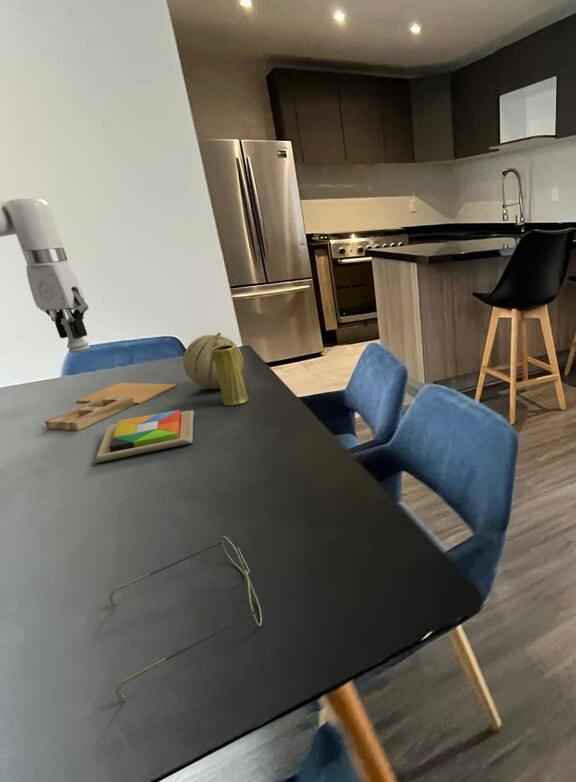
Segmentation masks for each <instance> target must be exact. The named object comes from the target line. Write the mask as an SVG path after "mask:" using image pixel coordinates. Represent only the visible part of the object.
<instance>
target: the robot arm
mask: <svg viewBox="0 0 576 782" xmlns="http://www.w3.org/2000/svg"><path fill="white" fill-rule="evenodd" d="M12 235H15V236H16V238H17V241H18V243H19V246H20V250H21V252H22V254H23V257H24V260H25V263H26V265H25V266H26V267H25V269H26V270H25V271H26V277H27V281H28V285H29V289H30V292H31V295H32V298H33V301H34V303H35V306H36V307H37V308H38V309H39V310H40V311H42V312H44V313H46V314H47V316H48V317H49V318H50V320H51V322H53V323H54V324H55V328H56V330H57V333H58V335H59V338H60V339H66V338H68V336H67V332H66V330H64V329H65V327H64V326H63V325H62V324H61V322H62V321H61V319H64V318H67V319H68V318H69V320H70V322H68V323H69V326H70V329H71V332H72V335H73V337H74V338H80V337H83V338H84V337H87V335H88V332H87V329H86V326H85V323H84V321H83V320H84V319H85V316H84V315H85V312H87V311H88V310H89V305H88V304H87V303H86V300H85V295H84V291H83V290H82V287H81V284H80V282H79V280H78V277H77V275H76V273H75V271H74V268H73V267H72V265H71V264H70V262H69V259H68V256H67V254H66V251H65V248H64V245H63V242H62V239H61V236H60V233H59V230H58V226H57V224H56V221H55V218H54V216H53V212H52V208H51V207H50V205H49V203H48V202H47V201H46V200H44V199H41V198H15V199H10V200H8V201H7V200H5V201H3V200H0V237H1V238H2V237H8V236H12Z"/></svg>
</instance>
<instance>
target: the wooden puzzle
mask: <svg viewBox="0 0 576 782" xmlns="http://www.w3.org/2000/svg"><path fill="white" fill-rule="evenodd" d="M194 414H195V411H194V410H193V409H191V410H185V411H181V410H180V409H179V410H178V409H177V410H171V411H166V412H160V413H154V414H148V415H144V416H137V417H133V418H127V419H121V420H118V421H117V423H115V424H109V425H107V426H106V428H105V431H104V434H103V437H102V439H101V443H100V445H99V448H98V450H97V453H96V456H95V457H94V459H93V462H94V463H95V464H99V463H102V462H108V461H113V460H117V459H122V458H127V457H131V456H135V455H141V454H146V453H151V452H155V451H156V452H157V451H161V450H165V449H171V448H175V447H180V446H186V445H190V444H192V443H193V441H194V440H193V439H194Z"/></svg>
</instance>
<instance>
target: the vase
mask: <svg viewBox="0 0 576 782" xmlns="http://www.w3.org/2000/svg"><path fill="white" fill-rule="evenodd" d="M212 354H213V358H214V361H215V365H216V369H217V375H218V379H219V384H220V388H219V390H220V393H221V394H220V395H221V398H222V404H223V405H224V406H227V407H233V406H234V405H236V406H239V405H238V404H240V405H243V404H245V403H247V402H248V401H249V400H250V399H249V396H248V393H247V388H246V386H245V382H244V381H245V380H244V379H243V374H242V372H241V370H240V366H239V363H238V359H237V355H236V351H235V346H234V345H222V346H217V347H214V348H212ZM242 403H243V404H242ZM234 407H235V406H234Z"/></svg>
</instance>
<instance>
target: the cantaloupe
mask: <svg viewBox="0 0 576 782" xmlns="http://www.w3.org/2000/svg"><path fill="white" fill-rule="evenodd" d="M222 345H234V346H235V351H236V355H237V359H238V363H239V366H240V370H241V373H243V369H244V357H243V354H242V352H241V350H240V348H239V347H238V346H237V344H236V343H235V342H234V341H232V340H231V339H229V338H228V337H225V336H222V333H221V332H217V334H215V335H214V334H205V335H202V336H200V337H198V338H196V339H195V340H193V341H191V343H190V344H189V345H188V346H187V347H186V349H185V352H184V354H183V359H182V364H183V370H184V372H185V374H186V376H187V378H189V379H190V380H191V381H192V382H193V383H194V384H195V385H197V386H200V387H203V388H206V389H210V390H220V384H219V379H218V375H217V369H216V365H215V361H214V358H213V354H212V348H214V347H217V346H222Z"/></svg>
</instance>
